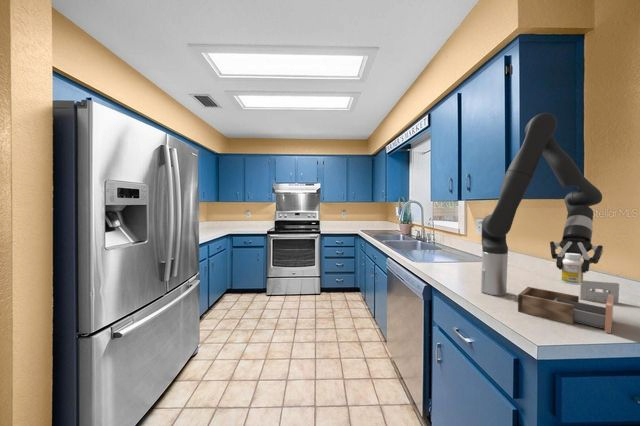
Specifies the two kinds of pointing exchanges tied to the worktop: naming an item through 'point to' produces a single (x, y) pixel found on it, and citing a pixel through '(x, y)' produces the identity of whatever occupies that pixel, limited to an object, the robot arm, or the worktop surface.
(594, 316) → the drawer
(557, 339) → the worktop surface
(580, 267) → the supplement bottle
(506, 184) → the robot arm
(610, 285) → the cassette
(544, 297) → the caddy
